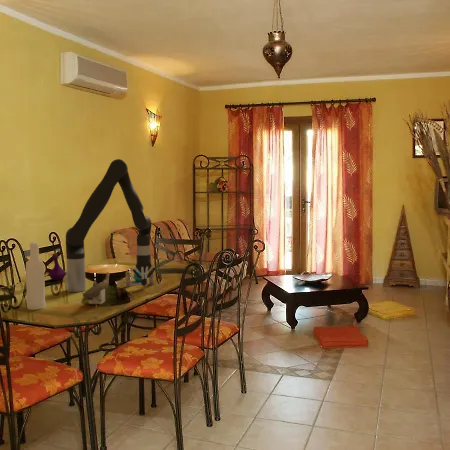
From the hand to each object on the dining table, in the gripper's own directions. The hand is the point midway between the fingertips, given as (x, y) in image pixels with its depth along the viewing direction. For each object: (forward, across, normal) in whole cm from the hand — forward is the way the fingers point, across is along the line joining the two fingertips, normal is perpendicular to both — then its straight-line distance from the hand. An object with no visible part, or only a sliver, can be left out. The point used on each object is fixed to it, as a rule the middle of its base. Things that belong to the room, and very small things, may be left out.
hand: (143, 285), depth 280 cm
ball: (-2, -2, -19) cm, 19 cm away
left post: (+2, +6, -8) cm, 10 cm away
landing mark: (+2, 0, -16) cm, 16 cm away
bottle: (+2, +56, +21) cm, 60 cm away
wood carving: (+2, +28, +20) cm, 34 cm away
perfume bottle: (+2, +40, -43) cm, 59 cm away
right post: (+2, -6, -8) cm, 10 cm away
